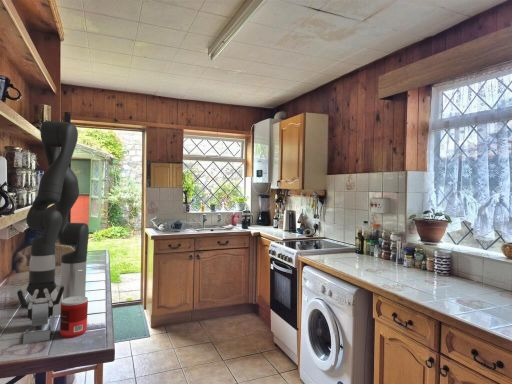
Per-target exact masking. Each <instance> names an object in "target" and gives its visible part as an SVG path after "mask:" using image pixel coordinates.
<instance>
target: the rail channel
mask: <svg viewBox="0 0 512 384" xmlns="http://www.w3.org/2000/svg"><path fill="white" fill-rule="evenodd" d="M29 331H30V329H29V328H28V329H26V330H25V332H23V338H22V344H23V345H26V344H27V345H28V344H34V343H38V342H46V341H50V338H51V331H52V326H51V325H50V326H48V329H45V330H44V329H43V330H36V331H30V332H29Z"/></svg>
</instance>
